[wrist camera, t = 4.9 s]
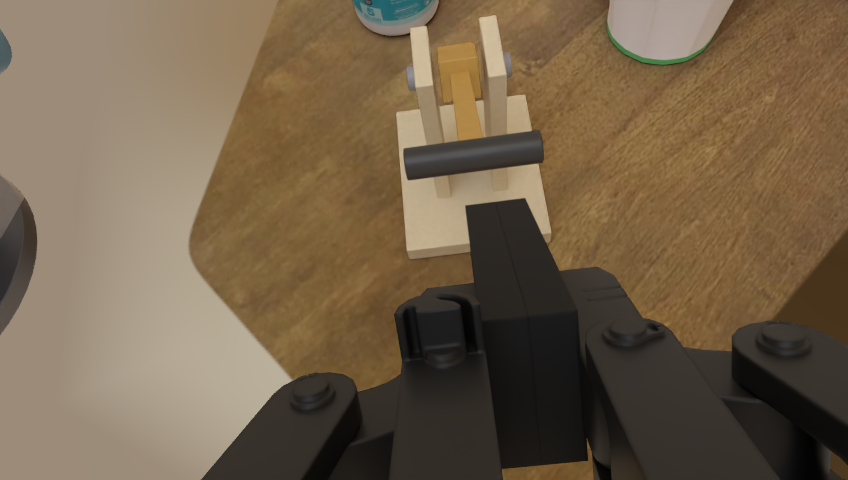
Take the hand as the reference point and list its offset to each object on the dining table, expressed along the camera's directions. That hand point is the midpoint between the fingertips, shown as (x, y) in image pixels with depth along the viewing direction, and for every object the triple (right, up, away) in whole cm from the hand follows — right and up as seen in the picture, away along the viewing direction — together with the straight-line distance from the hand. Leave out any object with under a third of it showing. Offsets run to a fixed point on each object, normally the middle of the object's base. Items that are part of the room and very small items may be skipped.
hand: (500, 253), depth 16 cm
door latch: (+2, +5, +32) cm, 32 cm away
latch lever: (0, +6, +18) cm, 19 cm away
